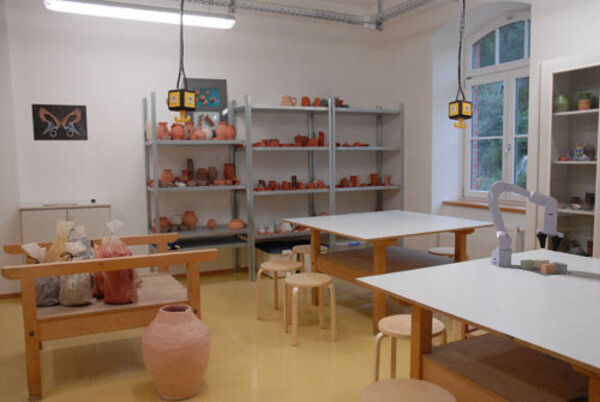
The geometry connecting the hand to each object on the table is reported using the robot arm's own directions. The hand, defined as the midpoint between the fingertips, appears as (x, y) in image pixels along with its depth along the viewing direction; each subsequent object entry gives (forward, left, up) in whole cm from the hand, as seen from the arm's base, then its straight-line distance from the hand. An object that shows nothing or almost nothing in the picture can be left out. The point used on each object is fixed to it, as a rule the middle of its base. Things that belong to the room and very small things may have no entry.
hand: (548, 249), depth 244 cm
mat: (-4, -2, -10) cm, 11 cm away
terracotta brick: (-5, -5, -10) cm, 12 cm away
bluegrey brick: (+2, -5, -10) cm, 11 cm away
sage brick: (-8, +5, -10) cm, 14 cm away
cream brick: (0, +4, -10) cm, 10 cm away
